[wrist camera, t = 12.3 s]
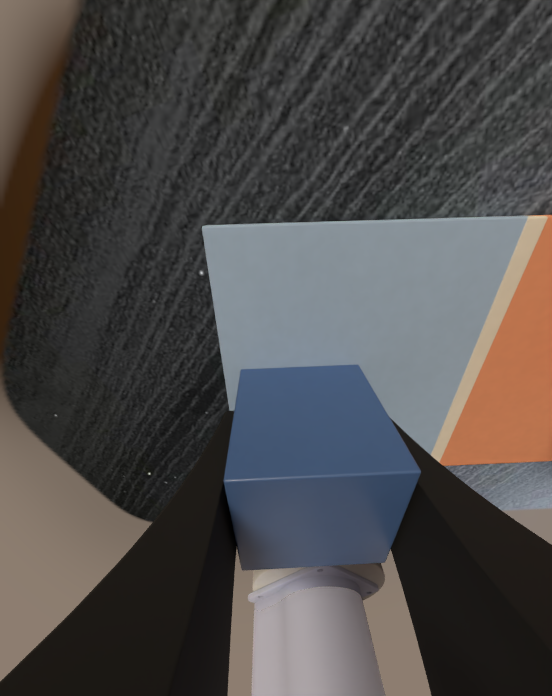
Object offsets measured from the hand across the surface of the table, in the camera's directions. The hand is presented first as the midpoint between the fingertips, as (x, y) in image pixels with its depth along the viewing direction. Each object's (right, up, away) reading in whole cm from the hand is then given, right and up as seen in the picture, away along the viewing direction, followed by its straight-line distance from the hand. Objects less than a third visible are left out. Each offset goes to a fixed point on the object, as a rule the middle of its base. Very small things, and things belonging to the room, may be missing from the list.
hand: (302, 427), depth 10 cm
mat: (+7, +2, +1) cm, 7 cm away
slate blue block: (0, 0, +1) cm, 1 cm away
